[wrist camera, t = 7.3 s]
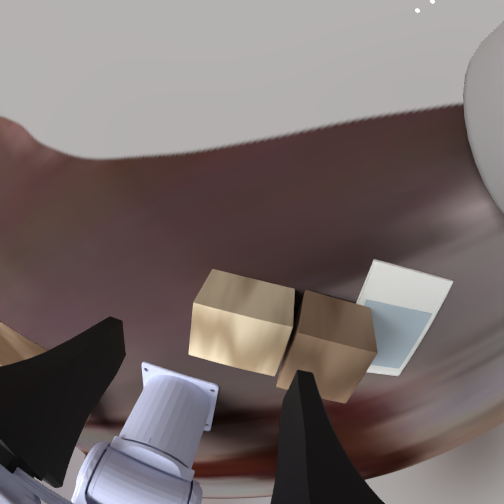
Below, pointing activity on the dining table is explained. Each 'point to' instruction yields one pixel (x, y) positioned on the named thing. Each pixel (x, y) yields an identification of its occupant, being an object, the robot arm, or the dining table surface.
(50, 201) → the dining table surface
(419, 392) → the dining table surface
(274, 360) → the maple block
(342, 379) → the walnut block
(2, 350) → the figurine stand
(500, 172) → the jar
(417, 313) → the white flat plate
